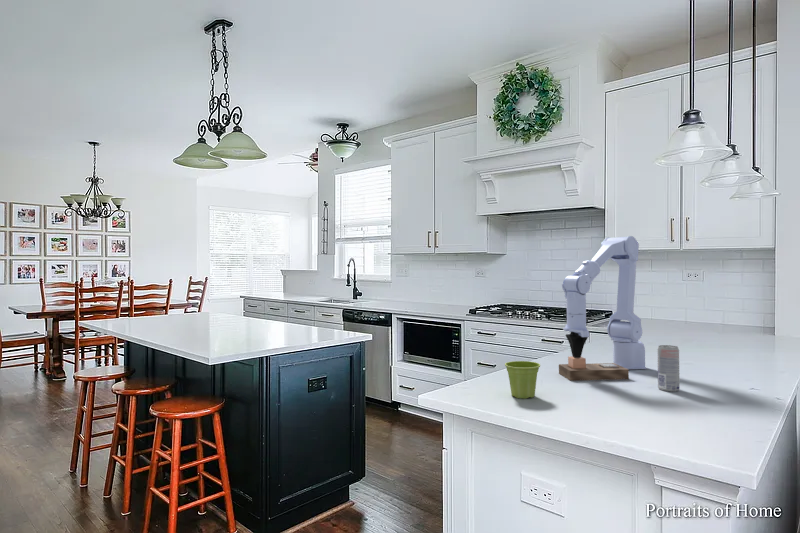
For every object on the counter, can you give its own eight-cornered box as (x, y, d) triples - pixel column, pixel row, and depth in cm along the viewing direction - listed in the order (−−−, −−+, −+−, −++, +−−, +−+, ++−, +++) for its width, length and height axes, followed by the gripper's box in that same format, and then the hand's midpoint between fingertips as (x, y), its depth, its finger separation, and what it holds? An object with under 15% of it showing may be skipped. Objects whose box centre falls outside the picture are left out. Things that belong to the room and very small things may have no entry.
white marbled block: (611, 372, 164) (611, 363, 164) (617, 375, 160) (617, 366, 160) (599, 373, 164) (599, 363, 164) (604, 376, 160) (604, 366, 160)
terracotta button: (580, 365, 164) (580, 356, 164) (585, 368, 160) (585, 358, 160) (568, 366, 164) (568, 356, 164) (573, 368, 160) (572, 358, 160)
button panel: (613, 372, 168) (613, 363, 168) (628, 379, 158) (628, 369, 158) (558, 373, 167) (558, 364, 167) (570, 380, 157) (570, 370, 157)
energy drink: (674, 387, 147) (674, 345, 147) (682, 391, 142) (682, 348, 142) (654, 387, 148) (654, 345, 148) (662, 391, 142) (662, 348, 142)
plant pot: (502, 399, 137) (502, 366, 137) (507, 390, 146) (507, 359, 146) (539, 401, 134) (538, 368, 134) (542, 393, 143) (541, 361, 143)
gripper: (555, 311, 169) (556, 353, 169) (572, 316, 154) (572, 361, 155) (577, 311, 169) (577, 352, 169) (595, 315, 155) (596, 361, 155)
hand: (576, 357), depth 162 cm, fingers closed
